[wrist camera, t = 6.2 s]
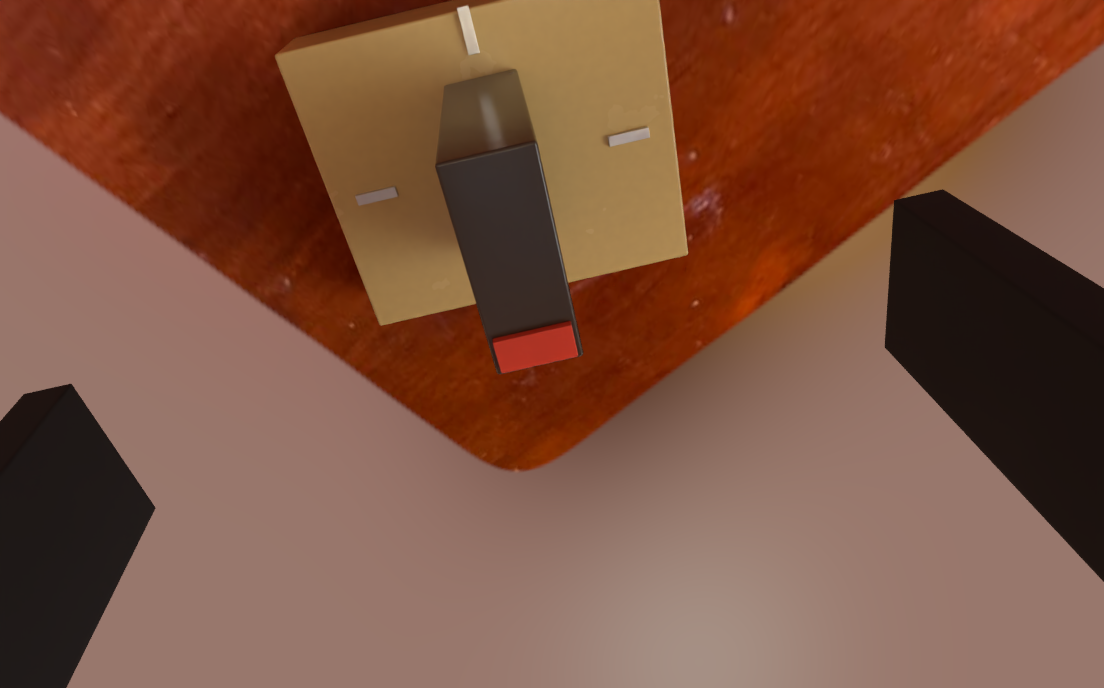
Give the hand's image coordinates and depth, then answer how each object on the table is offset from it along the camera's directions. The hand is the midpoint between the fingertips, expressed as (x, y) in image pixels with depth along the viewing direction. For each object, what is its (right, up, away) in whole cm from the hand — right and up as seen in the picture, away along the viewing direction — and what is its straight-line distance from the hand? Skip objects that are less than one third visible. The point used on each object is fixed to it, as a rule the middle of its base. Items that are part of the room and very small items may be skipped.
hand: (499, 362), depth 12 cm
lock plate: (-1, +8, +16) cm, 18 cm away
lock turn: (-1, +6, +13) cm, 15 cm away
